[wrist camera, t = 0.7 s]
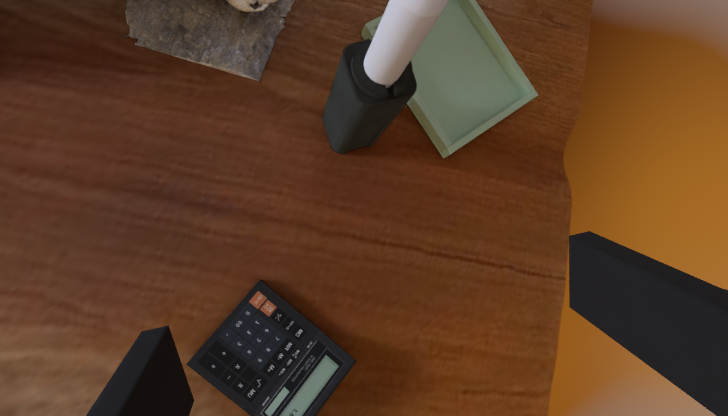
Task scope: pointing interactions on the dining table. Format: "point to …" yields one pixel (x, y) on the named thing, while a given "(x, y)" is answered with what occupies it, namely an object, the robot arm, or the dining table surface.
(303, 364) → the calculator
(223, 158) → the dining table surface
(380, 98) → the candle
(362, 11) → the dining table surface
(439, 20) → the tray
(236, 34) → the cherub figurine
